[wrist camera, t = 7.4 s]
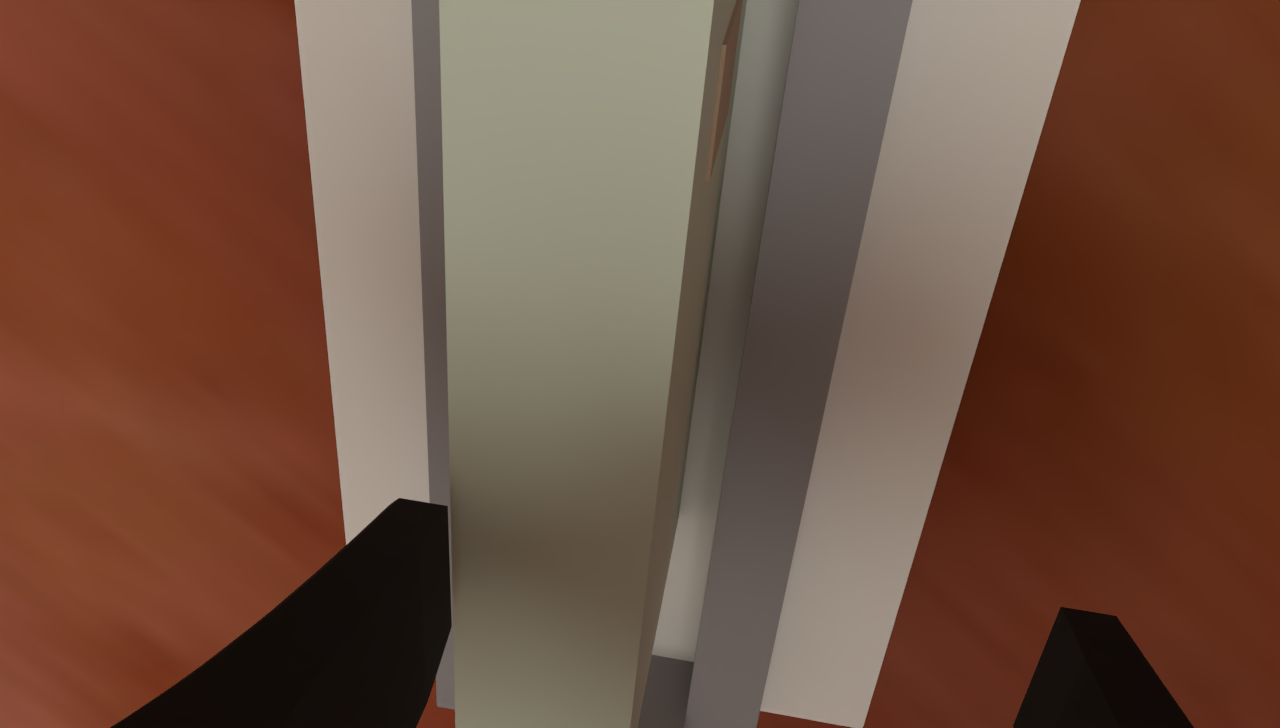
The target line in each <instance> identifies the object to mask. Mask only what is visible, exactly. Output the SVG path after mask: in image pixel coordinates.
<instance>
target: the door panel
mask: <svg viewBox="0 0 1280 728" xmlns="http://www.w3.org/2000/svg"><path fill="white" fill-rule="evenodd" d="M746 4H747V0H439V19H440V64H441V108H442V152H443V196H444V240H445V285H446V329H447V373H448V417H449V462H450V506H451V550H452V594H453V639H454V683H455V727H456V728H638V722H639V717H640V712H641V707H642V702H643V697H644V692H645V687H646V682H647V676H648V671H649V666H650V661H651V656H652V651H653V646H654V641H655V636H656V630H657V625H658V620H659V615H660V610H661V605H662V600H663V595H664V590H665V584H666V579H667V574H668V569H669V564H670V559H671V554H672V549H673V544H674V538H675V533H676V528H677V523H678V518H679V512H680V505H681V497H682V489H683V482H684V474H685V467H686V459H687V452H688V444H689V436H690V429H691V421H692V414H693V406H694V398H695V391H696V383H697V376H698V368H699V361H700V353H701V345H702V338H703V330H704V323H705V315H706V307H707V300H708V292H709V285H710V277H711V270H712V262H713V254H714V247H715V239H716V232H717V224H718V217H719V209H720V201H721V194H722V186H723V179H724V171H725V163H726V156H727V148H728V141H729V133H730V126H731V118H732V110H733V103H734V95H735V88H736V80H737V73H738V65H739V57H740V50H741V42H742V35H743V27H744V19H745V12H746Z"/></svg>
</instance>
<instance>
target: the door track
mask: <svg viewBox="0 0 1280 728" xmlns="http://www.w3.org/2000/svg"><path fill="white" fill-rule="evenodd" d="M1080 1H1081V0H747V4H746V12H745V19H744V27H743V35H742V42H741V50H740V57H739V65H738V73H737V80H736V88H735V95H734V103H733V110H732V118H731V126H730V133H729V141H728V148H727V156H726V163H725V171H724V179H723V186H722V194H721V201H720V209H719V217H718V224H717V232H716V239H715V247H714V254H713V262H712V270H711V277H710V285H709V292H708V300H707V307H706V315H705V323H704V330H703V338H702V345H701V353H700V361H699V368H698V376H697V383H696V391H695V398H694V406H693V414H692V421H691V429H690V436H689V444H688V452H687V459H686V467H685V474H684V482H683V489H682V497H681V505H680V512H679V518H678V523H677V528H676V533H675V538H674V544H673V549H672V554H671V559H670V564H669V569H668V574H667V579H666V584H665V590H664V595H663V600H662V605H661V610H660V615H659V620H658V625H657V630H656V636H655V641H654V646H653V651H652V656H651V661H650V666H649V671H648V676H647V682H646V687H645V692H644V697H643V702H642V707H641V712H640V717H639V722H638V728H756V726H757V722H758V717H759V712H760V711H765V712H770V713H776V714H781V715H786V716H792V717H797V718H803V719H808V720H814V721H819V722H825V723H830V724H836V725H841V726H847V727H852V728H863V726H864V722H865V719H866V716H867V712H868V709H869V705H870V702H871V699H872V695H873V692H874V689H875V685H876V682H877V679H878V675H879V672H880V669H881V665H882V662H883V659H884V655H885V652H886V649H887V645H888V642H889V639H890V635H891V632H892V629H893V625H894V622H895V619H896V615H897V612H898V609H899V605H900V602H901V599H902V595H903V592H904V589H905V585H906V582H907V579H908V575H909V572H910V569H911V565H912V562H913V559H914V555H915V552H916V549H917V545H918V542H919V539H920V535H921V532H922V529H923V525H924V522H925V518H926V515H927V512H928V508H929V505H930V502H931V498H932V495H933V492H934V488H935V485H936V482H937V478H938V475H939V472H940V468H941V465H942V462H943V458H944V455H945V452H946V448H947V445H948V442H949V438H950V435H951V432H952V428H953V425H954V422H955V418H956V415H957V412H958V408H959V405H960V402H961V398H962V395H963V392H964V388H965V385H966V382H967V378H968V375H969V372H970V368H971V365H972V362H973V358H974V355H975V352H976V348H977V345H978V342H979V338H980V335H981V331H982V328H983V325H984V321H985V318H986V315H987V311H988V308H989V305H990V301H991V298H992V295H993V291H994V288H995V285H996V281H997V278H998V275H999V271H1000V268H1001V265H1002V261H1003V258H1004V255H1005V251H1006V248H1007V245H1008V241H1009V238H1010V235H1011V231H1012V228H1013V225H1014V221H1015V218H1016V215H1017V211H1018V208H1019V205H1020V201H1021V198H1022V195H1023V191H1024V188H1025V185H1026V181H1027V178H1028V175H1029V171H1030V168H1031V165H1032V161H1033V158H1034V155H1035V151H1036V148H1037V144H1038V141H1039V138H1040V134H1041V131H1042V128H1043V124H1044V121H1045V118H1046V114H1047V111H1048V108H1049V104H1050V101H1051V98H1052V94H1053V91H1054V88H1055V84H1056V81H1057V78H1058V74H1059V71H1060V68H1061V64H1062V61H1063V58H1064V54H1065V51H1066V48H1067V44H1068V41H1069V38H1070V34H1071V31H1072V28H1073V24H1074V21H1075V18H1076V14H1077V11H1078V8H1079V4H1080ZM295 11H296V21H297V32H298V42H299V53H300V63H301V74H302V84H303V95H304V106H305V116H306V127H307V137H308V148H309V158H310V169H311V179H312V190H313V200H314V211H315V221H316V232H317V242H318V253H319V263H320V274H321V284H322V295H323V305H324V316H325V326H326V337H327V347H328V358H329V369H330V379H331V390H332V400H333V411H334V421H335V432H336V442H337V453H338V463H339V474H340V484H341V495H342V505H343V516H344V526H345V537H346V545H347V544H348V543H349V542H350V541H351V540H352V539H353V538H355V537H356V536H357V535H358V534H359V533H360V532H361V531H362V530H363V529H364V528H365V527H366V526H367V525H368V524H369V523H371V522H372V521H373V520H374V519H375V518H376V517H377V516H378V515H379V514H380V513H381V512H382V511H383V510H384V509H385V508H387V507H388V506H389V505H390V504H391V503H392V502H394V501H395V500H397V499H398V498H403V499H409V500H415V501H421V502H427V503H433V504H439V505H445V506H448V528H449V559H450V589H451V619H452V627H451V630H450V634H449V637H448V640H447V643H446V646H445V649H444V653H443V656H442V659H441V662H440V665H439V668H438V671H437V674H436V692H437V706H438V707H443V708H449V709H454V710H455V683H454V639H453V594H452V550H451V506H450V462H449V417H448V373H447V329H446V285H445V240H444V196H443V152H442V108H441V64H440V19H439V0H295Z"/></svg>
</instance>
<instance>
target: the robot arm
mask: <svg viewBox="0 0 1280 728" xmlns="http://www.w3.org/2000/svg"><path fill="white" fill-rule="evenodd" d="M451 627H452V619H451V589H450V559H449V528H448V506H445V505H439V504H433V503H427V502H421V501H415V500H409V499H403V498H398V499H397V500H395V501H394V502H392V503H391V504H390V505H389V506H388V507H387V508H385V509H384V510H383V511H382V512H381V513H380V514H379V515H378V516H377V517H376V518H375V519H374V520H373V521H372V522H371V523H369V524H368V525H367V526H366V527H365V528H364V529H363V530H362V531H361V532H360V533H359V534H358V535H357V536H356V537H355V538H353V539H352V540H351V541H350V542H349V543H348V544H347V545H346V546H345V547H344V548H343V549H342V550H340V551H339V552H338V553H337V554H336V555H335V556H334V557H333V558H332V559H330V560H329V561H328V562H327V563H326V564H325V565H324V566H323V567H322V568H321V569H319V570H318V571H317V572H316V573H315V574H314V575H313V576H311V577H310V578H309V579H308V580H307V581H306V582H304V583H303V584H302V585H301V586H300V587H299V588H297V589H296V590H295V591H294V592H293V593H292V594H290V595H289V596H288V597H287V598H286V599H285V600H283V601H282V602H281V603H280V604H279V605H278V606H276V607H275V608H274V609H273V610H272V611H271V612H269V613H268V614H267V615H266V616H265V617H263V618H262V619H261V620H260V621H258V622H257V623H256V624H255V625H253V626H252V627H251V628H249V629H248V630H247V631H246V632H244V633H243V634H242V635H240V636H239V637H238V638H237V639H235V640H234V641H233V642H231V643H230V644H229V645H228V646H226V647H225V648H224V649H222V650H221V651H220V652H219V653H217V654H216V655H215V656H213V657H212V658H211V659H210V660H208V661H207V662H206V663H204V664H203V665H202V666H200V667H199V668H198V669H196V670H195V671H193V672H192V673H191V674H189V675H188V676H186V677H185V678H184V679H182V680H181V681H180V682H178V683H177V684H175V685H174V686H172V687H171V688H170V689H168V690H167V691H165V692H164V693H162V694H161V695H159V696H158V697H156V698H155V699H153V700H152V701H150V702H149V703H147V704H146V705H144V706H143V707H141V708H140V709H138V710H137V711H135V712H134V713H132V714H131V715H129V716H128V717H126V718H125V719H123V720H122V721H120V722H118V723H117V724H115V725H114V726H112V727H110V728H416V726H417V724H418V722H419V720H420V717H421V715H422V713H423V711H424V708H425V706H426V704H427V701H428V698H429V695H430V692H431V689H432V686H433V683H434V680H435V677H436V674H437V671H438V668H439V665H440V662H441V659H442V656H443V653H444V649H445V646H446V643H447V640H448V637H449V634H450V630H451ZM1013 727H1014V728H1194V727H1193V725H1192V724H1191V723H1190V721H1189V720H1188V718H1187V717H1186V715H1185V714H1184V713H1183V711H1182V710H1181V708H1180V707H1179V706H1178V704H1177V703H1176V701H1175V700H1174V698H1173V697H1172V696H1171V694H1170V693H1169V691H1168V690H1167V688H1166V687H1165V686H1164V684H1163V683H1162V681H1161V680H1160V678H1159V677H1158V675H1157V674H1156V673H1155V671H1154V670H1153V668H1152V667H1151V665H1150V664H1149V662H1148V661H1147V659H1146V658H1145V657H1144V655H1143V654H1142V652H1141V651H1140V649H1139V648H1138V646H1137V645H1136V644H1135V642H1134V641H1133V639H1132V638H1131V636H1130V635H1129V634H1128V632H1127V631H1126V629H1125V628H1124V627H1123V625H1122V624H1121V622H1120V621H1119V619H1118V618H1117V617H1116V616H1112V615H1106V614H1100V613H1094V612H1088V611H1082V610H1076V609H1070V608H1064V607H1061V608H1060V610H1059V613H1058V615H1057V618H1056V620H1055V623H1054V625H1053V628H1052V630H1051V633H1050V635H1049V638H1048V640H1047V643H1046V645H1045V648H1044V650H1043V653H1042V655H1041V658H1040V660H1039V663H1038V665H1037V668H1036V670H1035V673H1034V675H1033V678H1032V680H1031V683H1030V685H1029V688H1028V690H1027V693H1026V695H1025V698H1024V700H1023V703H1022V705H1021V708H1020V710H1019V713H1018V715H1017V718H1016V720H1015V723H1014V725H1013Z"/></svg>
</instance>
